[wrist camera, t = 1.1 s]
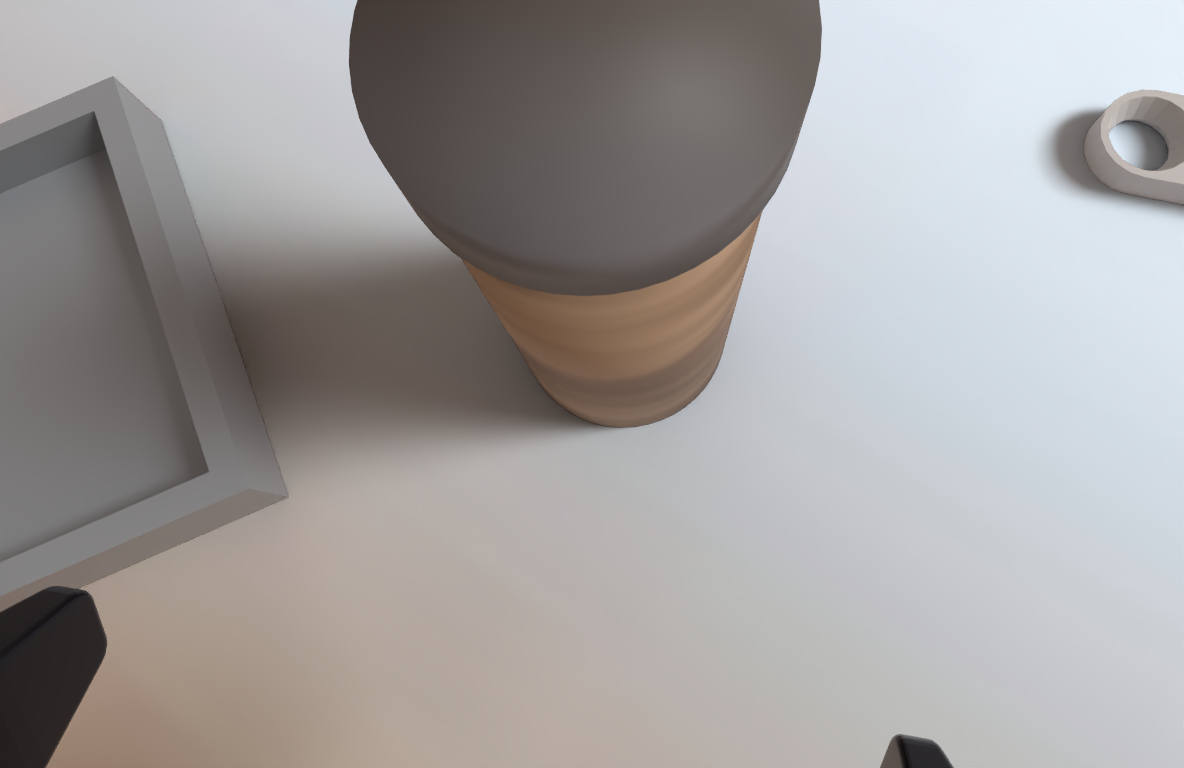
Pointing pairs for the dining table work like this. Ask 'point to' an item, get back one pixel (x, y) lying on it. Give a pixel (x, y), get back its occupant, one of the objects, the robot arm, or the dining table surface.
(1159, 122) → the adjustable wrench
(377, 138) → the walnut canister
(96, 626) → the robot arm
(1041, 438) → the dining table surface
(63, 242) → the tray
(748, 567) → the dining table surface
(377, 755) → the dining table surface
